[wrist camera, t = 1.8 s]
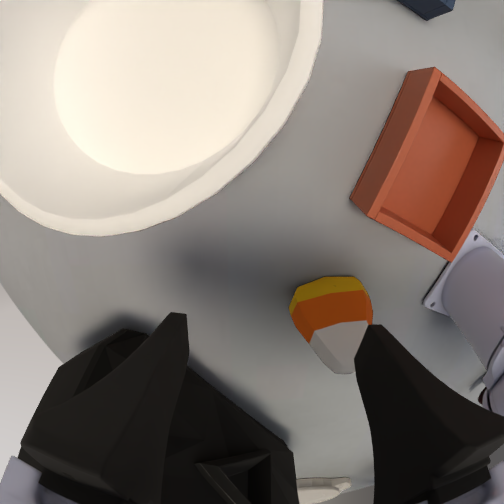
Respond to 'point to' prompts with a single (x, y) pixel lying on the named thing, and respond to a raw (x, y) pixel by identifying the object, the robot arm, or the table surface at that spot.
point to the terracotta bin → (431, 164)
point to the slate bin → (429, 7)
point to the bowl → (142, 102)
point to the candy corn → (333, 319)
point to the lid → (320, 489)
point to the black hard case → (192, 435)
